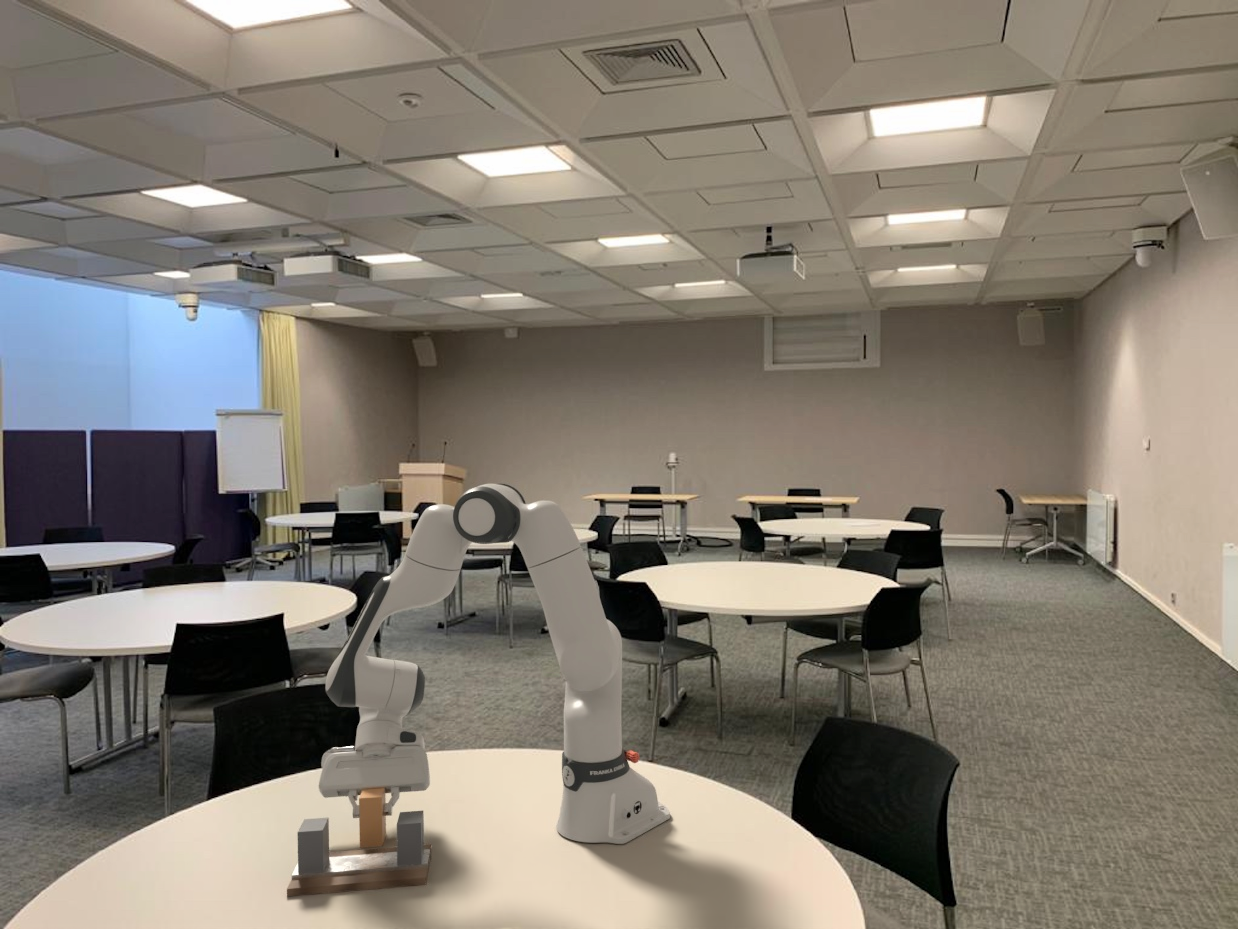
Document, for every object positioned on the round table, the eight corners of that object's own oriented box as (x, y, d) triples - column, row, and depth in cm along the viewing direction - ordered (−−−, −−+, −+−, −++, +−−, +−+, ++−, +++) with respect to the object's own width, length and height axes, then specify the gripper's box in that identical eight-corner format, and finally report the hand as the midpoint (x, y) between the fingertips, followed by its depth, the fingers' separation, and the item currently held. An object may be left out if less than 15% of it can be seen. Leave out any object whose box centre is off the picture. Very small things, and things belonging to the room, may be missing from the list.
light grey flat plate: (430, 852, 147) (430, 849, 147) (427, 867, 142) (427, 864, 142) (299, 863, 144) (299, 859, 144) (291, 879, 138) (291, 875, 138)
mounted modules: (424, 850, 147) (423, 810, 147) (421, 864, 142) (420, 822, 142) (305, 859, 144) (304, 819, 144) (298, 874, 139) (297, 832, 139)
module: (386, 833, 157) (385, 786, 157) (382, 846, 152) (381, 796, 152) (364, 835, 157) (363, 787, 157) (359, 847, 152) (359, 798, 152)
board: (431, 850, 150) (431, 844, 150) (426, 884, 138) (425, 877, 138) (303, 861, 147) (303, 854, 147) (286, 896, 135) (286, 889, 135)
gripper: (320, 740, 160) (310, 813, 150) (430, 734, 163) (427, 804, 153) (325, 755, 164) (316, 827, 155) (432, 748, 167) (429, 818, 158)
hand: (372, 815), depth 154 cm, fingers closed on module, 4 cm apart
